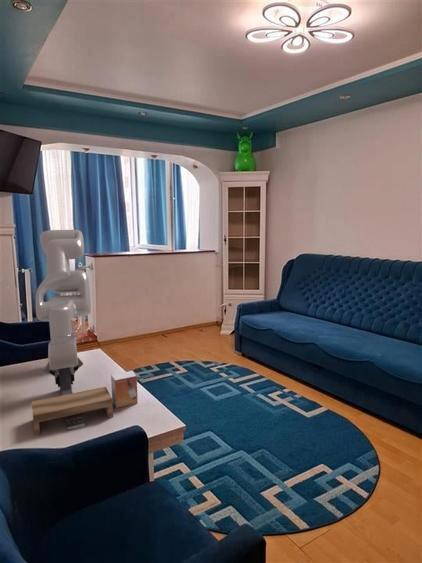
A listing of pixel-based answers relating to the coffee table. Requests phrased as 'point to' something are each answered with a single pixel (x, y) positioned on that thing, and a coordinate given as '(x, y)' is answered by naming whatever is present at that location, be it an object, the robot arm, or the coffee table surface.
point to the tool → (65, 381)
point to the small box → (124, 389)
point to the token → (75, 423)
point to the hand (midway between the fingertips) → (65, 383)
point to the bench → (71, 405)
